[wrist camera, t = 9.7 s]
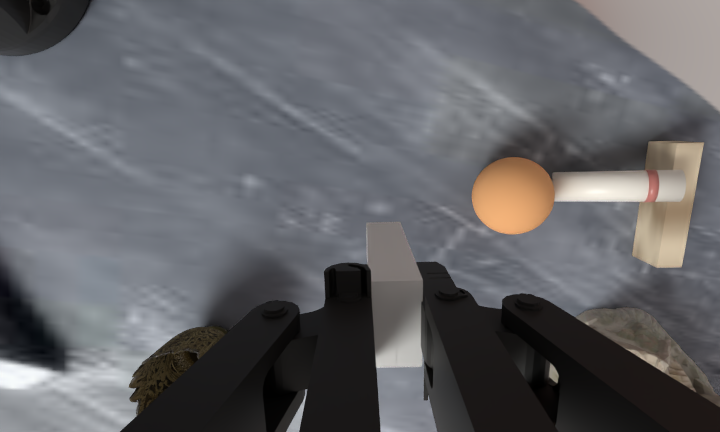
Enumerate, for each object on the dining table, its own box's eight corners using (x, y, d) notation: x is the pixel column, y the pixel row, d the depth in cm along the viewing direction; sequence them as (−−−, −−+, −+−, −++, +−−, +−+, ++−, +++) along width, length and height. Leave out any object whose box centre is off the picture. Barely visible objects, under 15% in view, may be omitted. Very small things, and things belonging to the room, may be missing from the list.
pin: (554, 172, 31) (687, 169, 28) (551, 170, 33) (674, 168, 30) (553, 203, 31) (684, 204, 28) (550, 199, 33) (671, 200, 30)
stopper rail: (648, 141, 32) (677, 143, 29) (672, 140, 32) (703, 142, 29) (632, 255, 35) (656, 267, 32) (654, 254, 35) (681, 267, 32)
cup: (266, 319, 36) (240, 373, 28) (243, 383, 38) (213, 451, 30) (188, 293, 36) (139, 341, 28) (168, 360, 37) (118, 422, 29)
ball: (553, 153, 31) (476, 155, 34) (560, 159, 26) (467, 161, 28) (550, 225, 33) (475, 222, 35) (555, 246, 27) (467, 241, 29)
